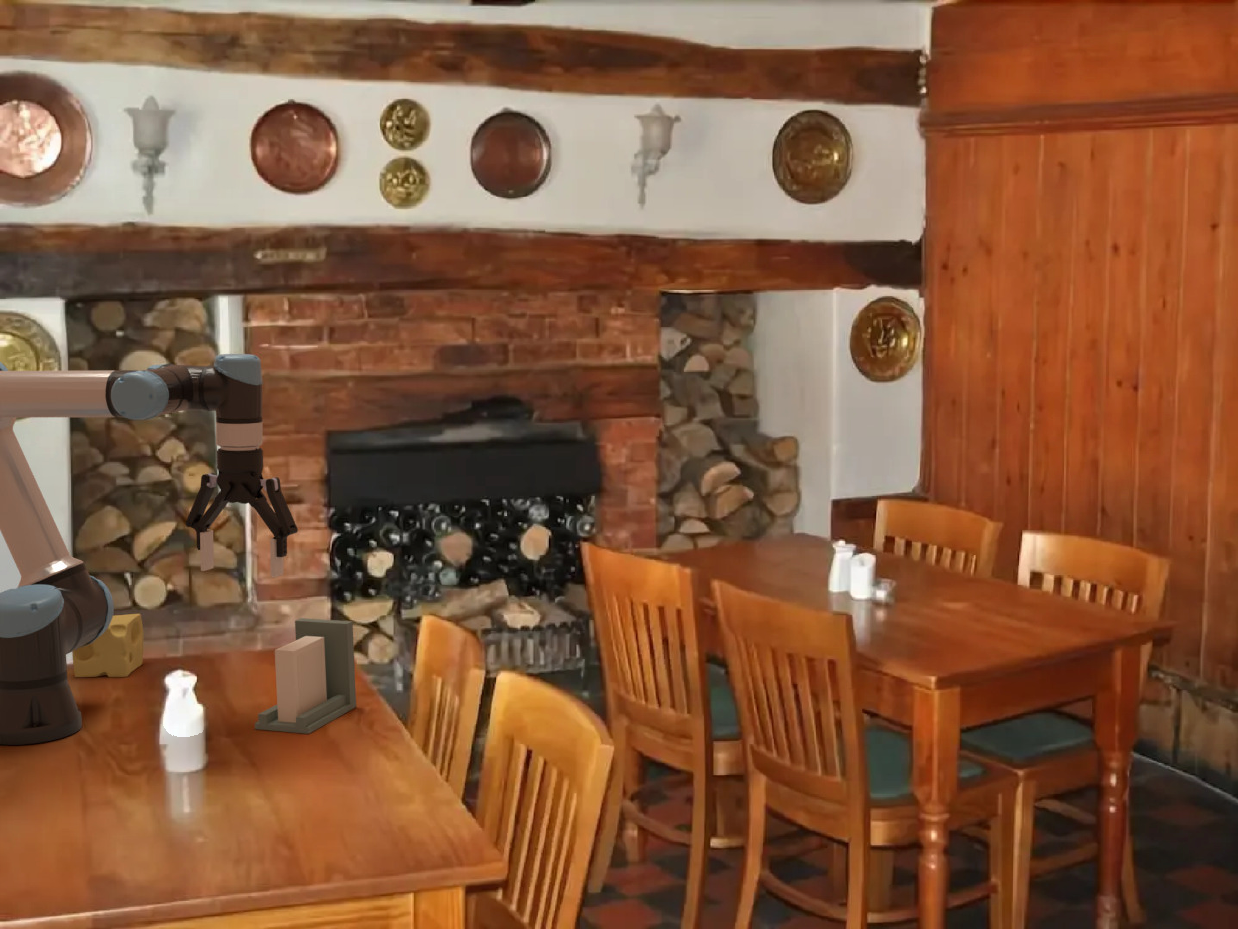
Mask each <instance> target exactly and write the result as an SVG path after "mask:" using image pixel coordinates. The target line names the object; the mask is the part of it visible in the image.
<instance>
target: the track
mask: <svg viewBox="0 0 1238 929" xmlns="http://www.w3.org/2000/svg"><path fill="white" fill-rule="evenodd" d="M353 623H354V621H351V620H337V619H335V620H334V619H318V618H305V617H304V618H303V617H300V618H298V619H296V620H294V625H295V626H294V630H295V641H296V640H298V639H300V638H302V637H305V636H314V637H324V647H325V669H326V692H327V701H325V702H323V703H321V704H319V705H318V706H316V707H314V708H312V709H310V710H308V711H306V712H305V713H303V714H301V715H299V716H297V717H296V723H293V722H281V721H278V708H277V704H275V705H273V706H271V707H269V708H267V709H266V710H263V711H261V712H260V713H258V714H257V715H258V717H257V718H258V720H257V721H256V722H254V730H261V731H271V732H273V731H274V732H282V733H283V732H286V733H294V734H295V733H296V734H305V735H306V734H308V735H309V734H311V733H312V732H314V731H316V730H318V729H320V728H323V727H324V726H325V725H327V724H329V723H330V722H332V721H334V720H336V719H338V718H340V717H341V716H343V715H345V714H347V713H348V712H350V711H352V710H353V709H355V708H357V697H356V695H357V694H356V693H357V692H356V673H355V671H356V669H355V668H356V667H355V648H354V646H355V645H354V626H353Z"/></svg>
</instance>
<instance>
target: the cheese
mask: <svg viewBox="0 0 1238 929" xmlns="http://www.w3.org/2000/svg"><path fill="white" fill-rule="evenodd" d="M143 627H144V626H143V620H142V615H141V613H129V614H119V615H118V614H116V615H114V614H113V617H112V620H111V623H110V625H109V627H108V628H107V630H106V631H105V632H104V633H103V634H102V635H101V636H100V637H98V638H97V639H96V640H95V641H94V642H92V643H91V644H88V645H86V646H84V647H80V648H78V649H76V650H74V651H72V652H71V654H72V665H73V671H74V672H73V673H74V677H75V678H95V677H101V676H107V677H108V678H109V677H110V678H127V677H128V676H130V674H131V673H132V672H133V671H135V670H136V669H138V668H139V667H141V665H143V659H144V628H143Z"/></svg>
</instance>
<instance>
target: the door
mask: <svg viewBox="0 0 1238 929" xmlns="http://www.w3.org/2000/svg"><path fill="white" fill-rule="evenodd" d="M274 664H275V667H274V668H275V682H276V686H275V687H276V702H277V703H276V705H277V708H278V721H281V722H293V723H296V717H297V716H299V715H301V714H303V713H305V712H306V711H308V710H310V709H312V708H314V707H316V706H318V705H319V704H321V703H323V702H325V701H327V692H326V669H325V647H324V637H314V636H305V637H302V638H300V639H298V640H296V639H295V640H293V641H292V642H289V643H287V644H284V645H283V646H281V647H278V648H276V649H274Z"/></svg>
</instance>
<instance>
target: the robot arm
mask: <svg viewBox="0 0 1238 929" xmlns="http://www.w3.org/2000/svg"><path fill="white" fill-rule="evenodd" d="M261 362H262V361H261V359H260V358H259V357H258V356H257V355H255V354H251V353H250V354H249V353H222V354H217V355H216V356H215V358H214V363H213V365H191V364H190V365H189V364H188V365H186V364H184V365H183V364H173V363H167V364H153V365H150V366H148V367H147V369H135V370H134V369H124V370H122V369H121V370H114V369H113V370H9V369H8V368H7V367H6V365H4V363H3V362H1V361H0V532H1V535H2V537H3V539H4V541H5V543H6V546H7V548H8V551H9V553H10V555H11V557H12V560H13V561H14V564H15V565H16V568H17V571H18V572H19V574H20V580H19V583H18V586H17V587H16V588H9V589H6V590H4V591H1V592H0V745H12V746H13V745H14V746H15V745H16V746H17V745H19V746H20V745H32V744H38V743H46V742H50V741H55V740H59V739H63V738H66V737H68V736H71V735H74V734H75V733H77V732H79V731H80V730H81V729H82V727H83V726H82V725H83V720H82V712H81V710H80V708H79V707H78V706H77V705H78V704H77V703H76V700H75V699H76V698H75V697H74V695H73V691H72V689H71V687H70V684H69V680H68V666H67V665H68V664H67V662H68V661H67V655H68V654H70V653H72V651H74V650H76V649H78V648H80V647H84V646H86V645H88V644H91V643H92V642H94V641H95V640H96V639H97V638H98V637H100V636H101V635H102V634H103V633H104V632H105V631H106V630H107V628H108V627H109V625H110V623H111V620H112V617H113V615H114V611H115V610H114V609H115V607H114V606H115V605H114V599H113V596H112V593H111V591H110V589H109V587H108V586H107V585H106V584H105V582H103V581H102V580H101V579H97V578H96V577H95V576H93V575H90V573H89V571H88V569H87V567H86V564H85V563H84V561H83V560H81V559H78V558H76V557H73V556H72V555H70V552H69V550H68V548H67V546H66V544H65V542H64V539H63V537H62V535H61V532H60V531H59V528H58V526H57V524H56V522H55V520H54V516H53V515H52V513H51V511H50V509H49V506H48V504H47V501H46V499H45V497H44V495H43V493H42V491H41V489H40V487H39V485H38V483H37V480H36V478H35V475H34V473H33V471H32V469H31V467H30V465H29V463H28V460H27V458H26V455H25V454H24V452H23V449H22V447H21V444H20V442H19V440H18V438H17V436H16V434H15V432H14V426H15V423H16V421H17V418H18V419H19V418H20V419H21V418H22V419H23V418H25V419H26V418H28V419H29V418H126V419H128V420H133V421H141V420H142V421H144V420H145V421H146V420H151V419H154V418H155V417H159V416H163V415H168V414H173V413H178V412H181V411H207V412H212V411H213V412H215V431H216V432H215V433H216V434H215V437H216V438H215V439H216V440H215V444H216V445H217V446H218V447H219V448H218V449H217V450H216V469H217V470H218V474H215V473H214V472H208V473H206V474H204V473H203V474H202V475H201V477H200V487H199V490H198V493H197V495H196V497H195V499H194V502H193V504H192V506H191V509H190V511H189V513H188V516H187V517H186V520H185V526H186V527H187V528H192V529H193V530H194V531H195V532H196V533H195V534H196V549H197V551H200V555H199V556H200V571H201V572H202V571H203V572H205V571H209V570H211V569H214V568H215V564H214V563H215V562H214V561H215V560H214V556H215V555H214V554H215V553H214V552H215V551H214V547H215V546H214V530H211V528H212V527H211V526H212V524H213V523H214V522H215V520H216V519H217V517H219V515H220V514H221V513H222V511H223V510H224V509H225V507H226V506H227V505H228V504H229V503H231V504H235V503H238V504H243V505H245V504H246V505H247V504H249V506H250V507H252V508H254V509H255V511H256V512H257V514H258V515H259V517H260V518H261V520H262V521H263V522H264V524H265V525H266V527H267V528H268V530H269V531H270V532H271V533H272V535H273V537H271V538H270V539H269V540H270V541H269V543H270V544H269V545H270V546H269V548H270V551H269V552H270V560H269V561H270V578H278V577H281V576H283V575H284V557H287V555H288V537H289V536H291V535H294V534H297V533H298V531H299V529H298V526H297V523H296V522H295V519H294V517H293V514H292V513H291V510H290V508H289V505H288V503H287V501H286V499H285V496H284V494H283V492H282V489H281V480H280V478H279V477H272V478H264V477H263V470H264V450H263V449H262V448H261V446H262V445H263V444H264V443H263V441H264V439H263V433H264V432H263V425H264V424H263V385H264V381H263V376H262V375H263V374H262V363H261ZM216 486H218V488H219V489H220V491H219V492H218V493H217V495H216V496H215V497H214V501H213V502H212V503H211V505H210V506H209V507H208V504H209V503H210V500H211V498H212V495H213V493H214V490H215V487H216ZM262 489H263V490H264V491H265V492H266V494H267V497H268V499H269V502H270V504H271V505H270V504H269V502H268V499H267V497H266V496H265V494H264V492H262V491H263V490H262ZM207 507H208V509H207ZM206 509H207V510H206Z"/></svg>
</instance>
